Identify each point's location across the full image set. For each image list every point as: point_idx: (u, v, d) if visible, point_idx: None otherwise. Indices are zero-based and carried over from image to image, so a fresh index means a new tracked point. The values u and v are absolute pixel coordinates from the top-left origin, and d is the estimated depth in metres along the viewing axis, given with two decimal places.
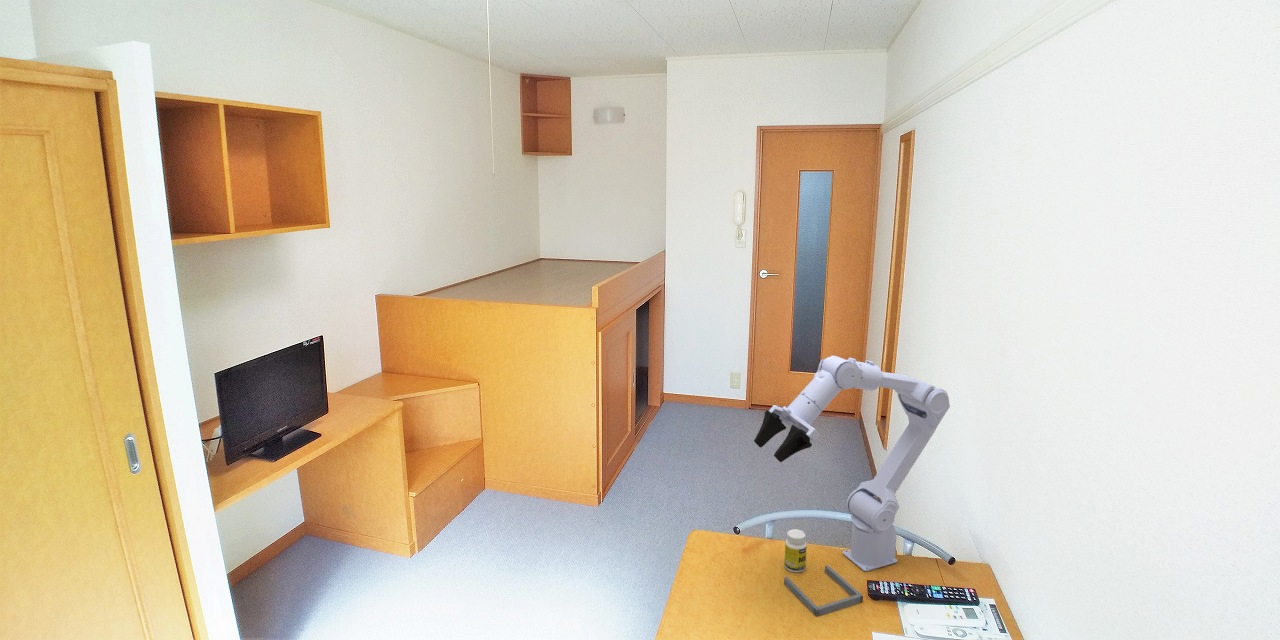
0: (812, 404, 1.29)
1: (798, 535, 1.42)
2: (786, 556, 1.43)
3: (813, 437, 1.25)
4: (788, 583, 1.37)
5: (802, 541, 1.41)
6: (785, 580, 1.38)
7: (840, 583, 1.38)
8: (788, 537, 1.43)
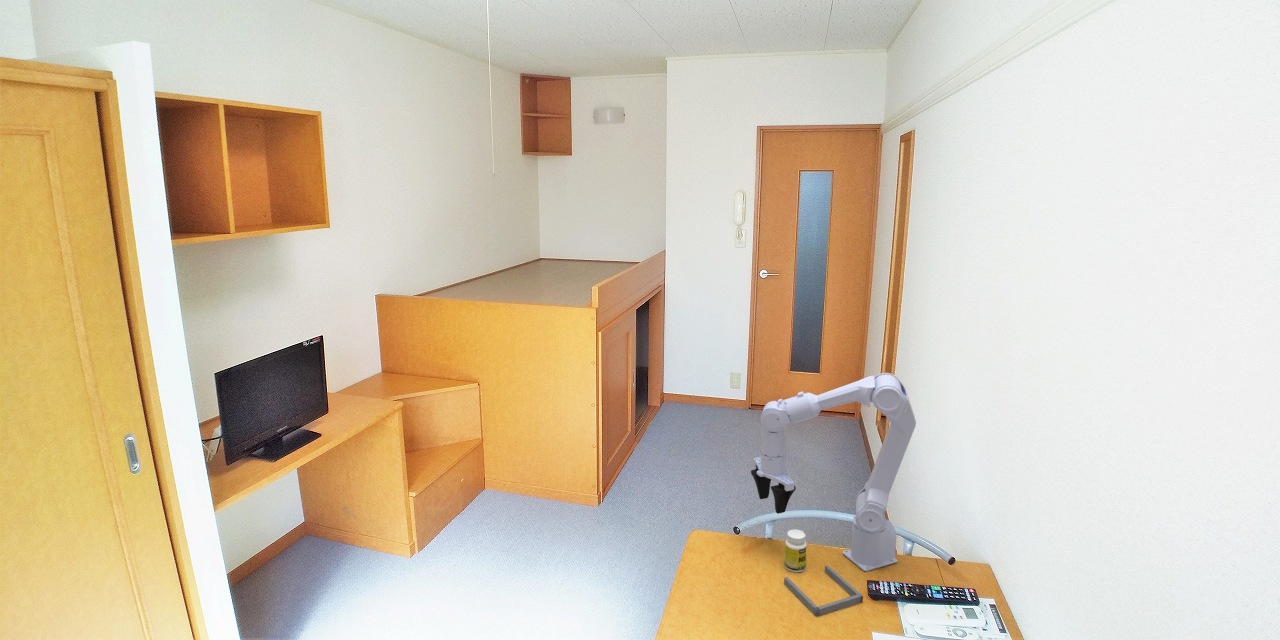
0: (774, 459, 1.46)
1: (798, 535, 1.42)
2: (786, 556, 1.43)
3: (790, 488, 1.43)
4: (788, 583, 1.37)
5: (802, 541, 1.41)
6: (785, 580, 1.38)
7: (840, 583, 1.38)
8: (788, 537, 1.43)
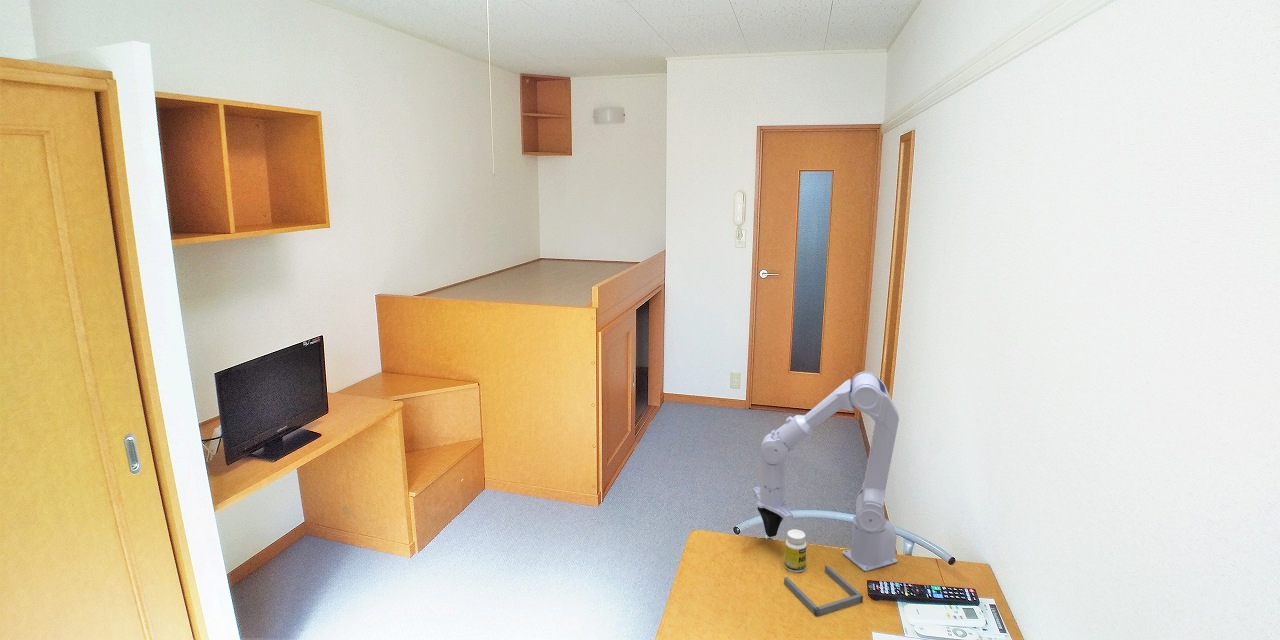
0: (773, 491, 1.48)
1: (798, 535, 1.42)
2: (786, 556, 1.43)
3: (789, 520, 1.45)
4: (788, 583, 1.37)
5: (802, 541, 1.41)
6: (785, 580, 1.38)
7: (840, 583, 1.38)
8: (788, 537, 1.43)
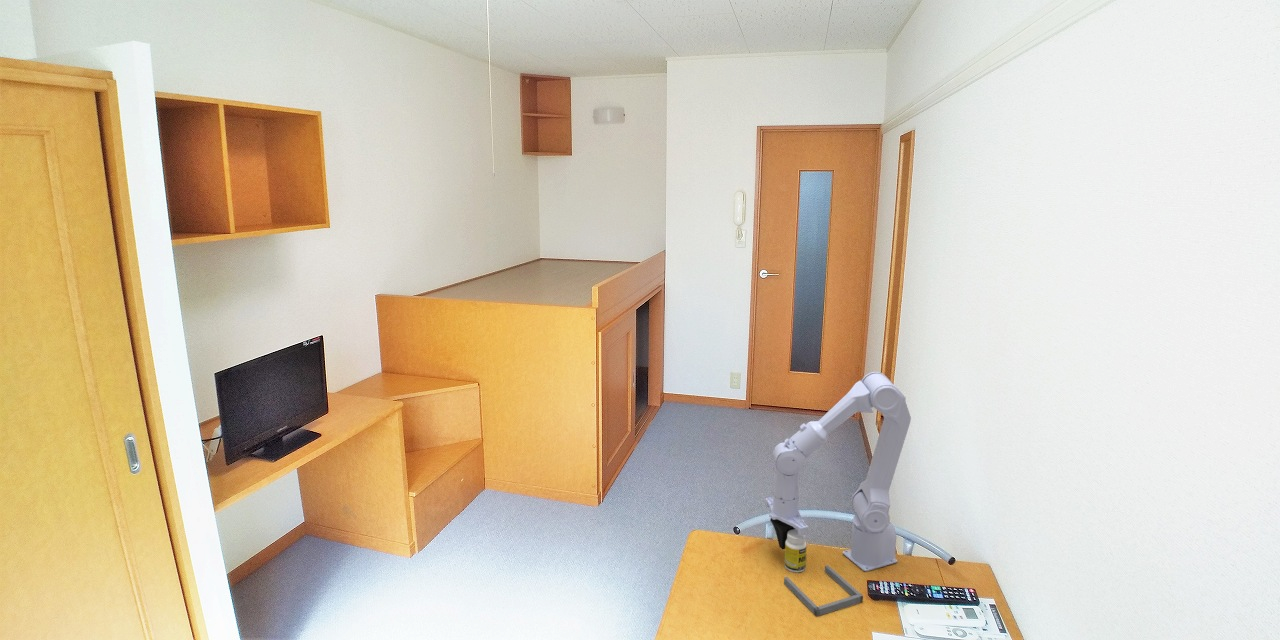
0: (787, 502, 1.43)
1: (798, 535, 1.42)
2: (786, 556, 1.43)
3: (804, 532, 1.40)
4: (788, 583, 1.37)
5: (802, 541, 1.41)
6: (785, 580, 1.38)
7: (840, 583, 1.38)
8: (788, 537, 1.43)
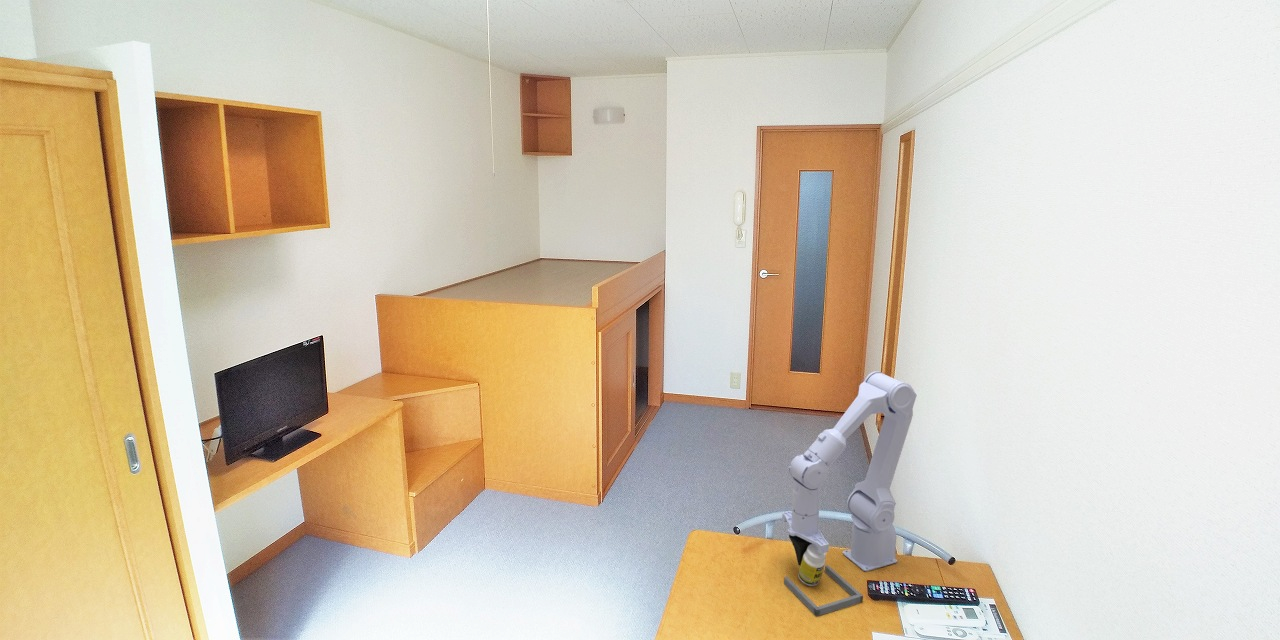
0: (806, 517, 1.36)
1: (818, 553, 1.35)
2: (802, 569, 1.38)
3: (825, 550, 1.33)
4: (788, 583, 1.37)
5: (822, 560, 1.35)
6: (785, 580, 1.38)
7: (840, 583, 1.38)
8: (807, 553, 1.36)
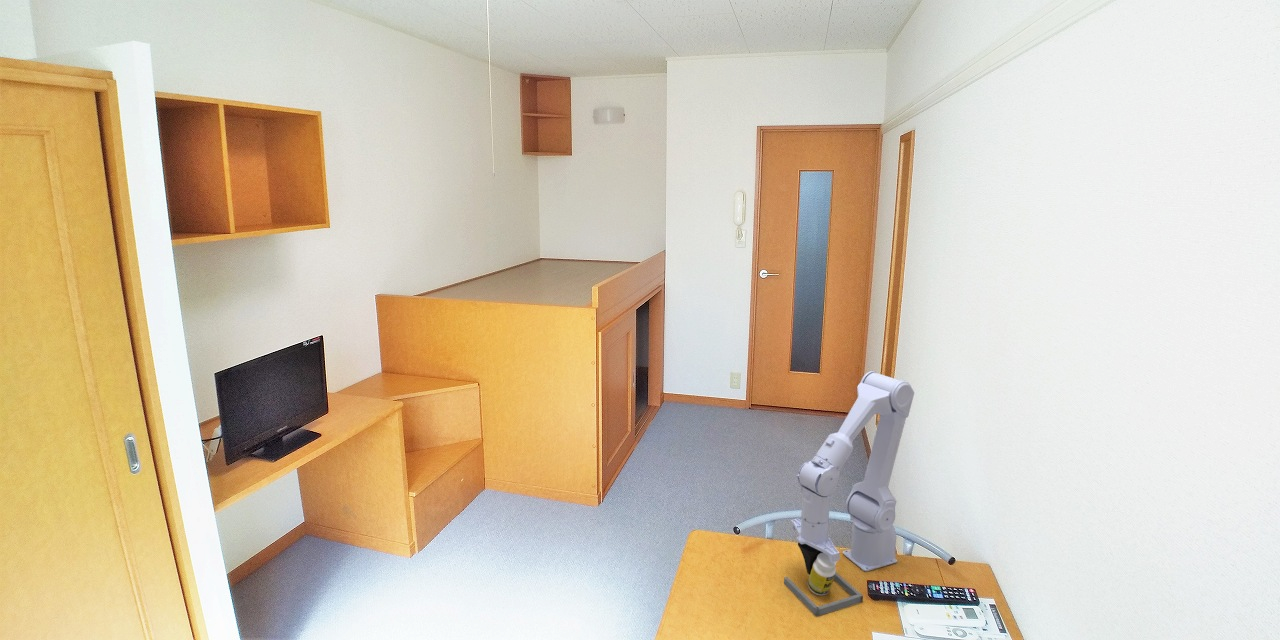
0: (816, 525, 1.33)
1: (829, 562, 1.32)
2: (811, 578, 1.34)
3: (835, 559, 1.30)
4: (788, 583, 1.37)
5: (832, 570, 1.31)
6: (785, 580, 1.38)
7: (840, 583, 1.38)
8: (817, 562, 1.32)
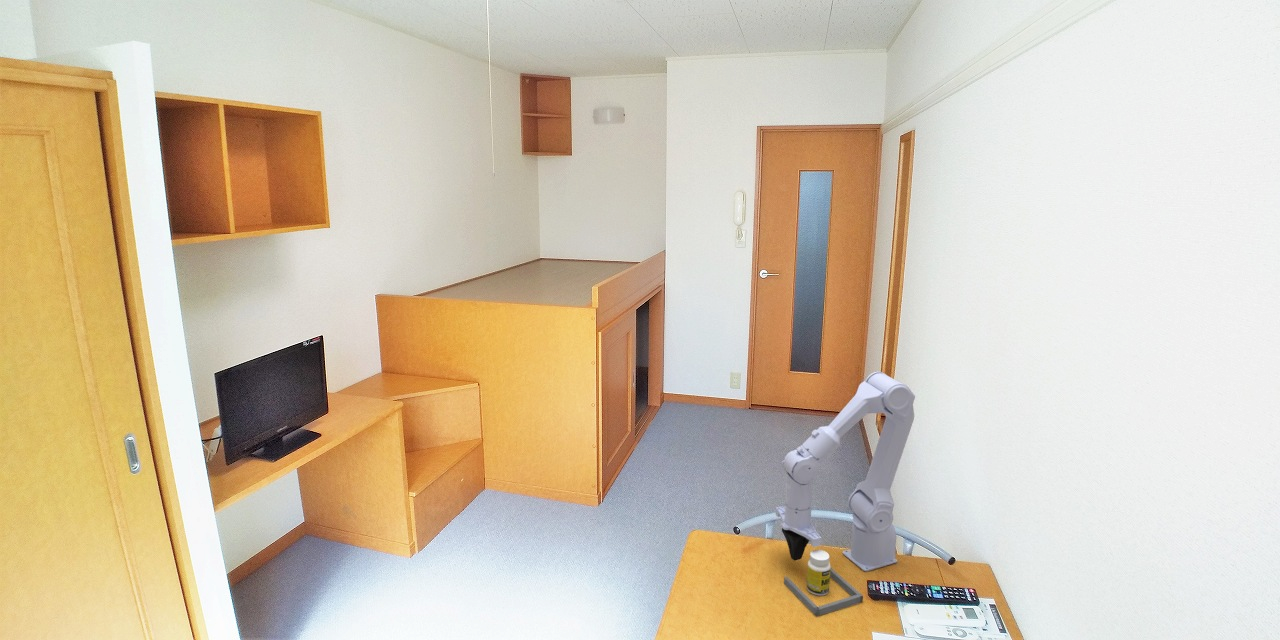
0: (799, 512, 1.38)
1: (821, 556, 1.34)
2: (808, 578, 1.35)
3: (817, 543, 1.36)
4: (788, 583, 1.37)
5: (825, 563, 1.33)
6: (785, 580, 1.38)
7: (840, 583, 1.38)
8: (811, 558, 1.35)
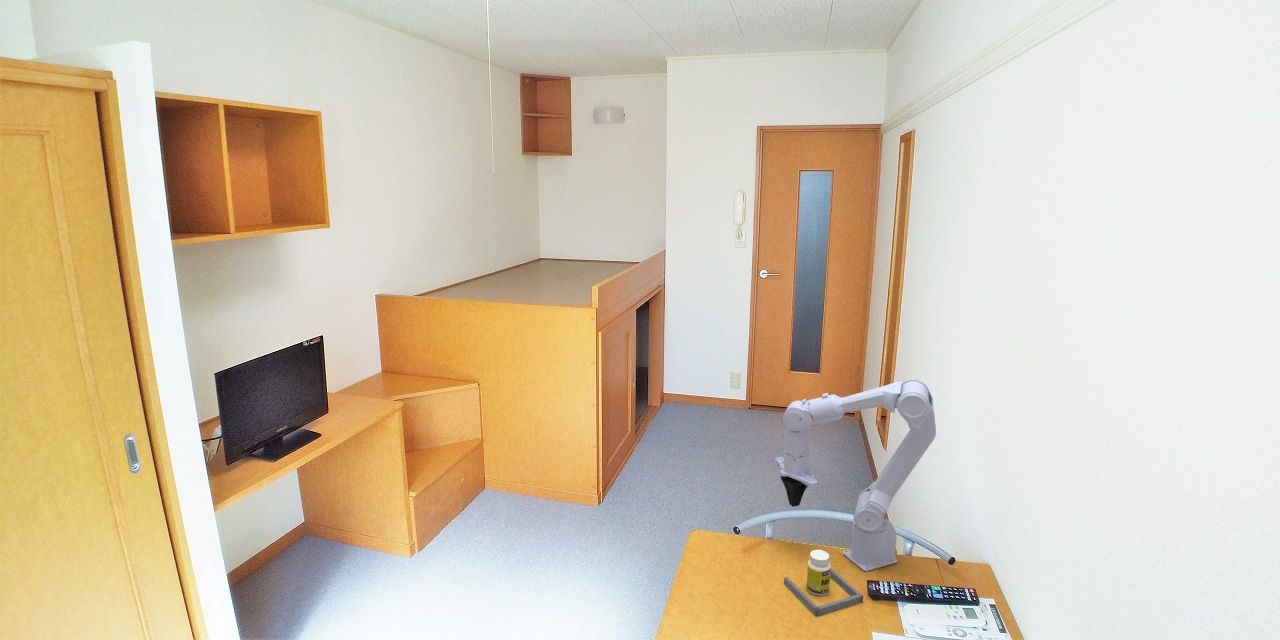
0: (797, 458, 1.46)
1: (822, 556, 1.34)
2: (808, 578, 1.35)
3: (814, 487, 1.43)
4: (788, 583, 1.37)
5: (825, 563, 1.33)
6: (785, 580, 1.38)
7: (840, 583, 1.38)
8: (811, 558, 1.35)
